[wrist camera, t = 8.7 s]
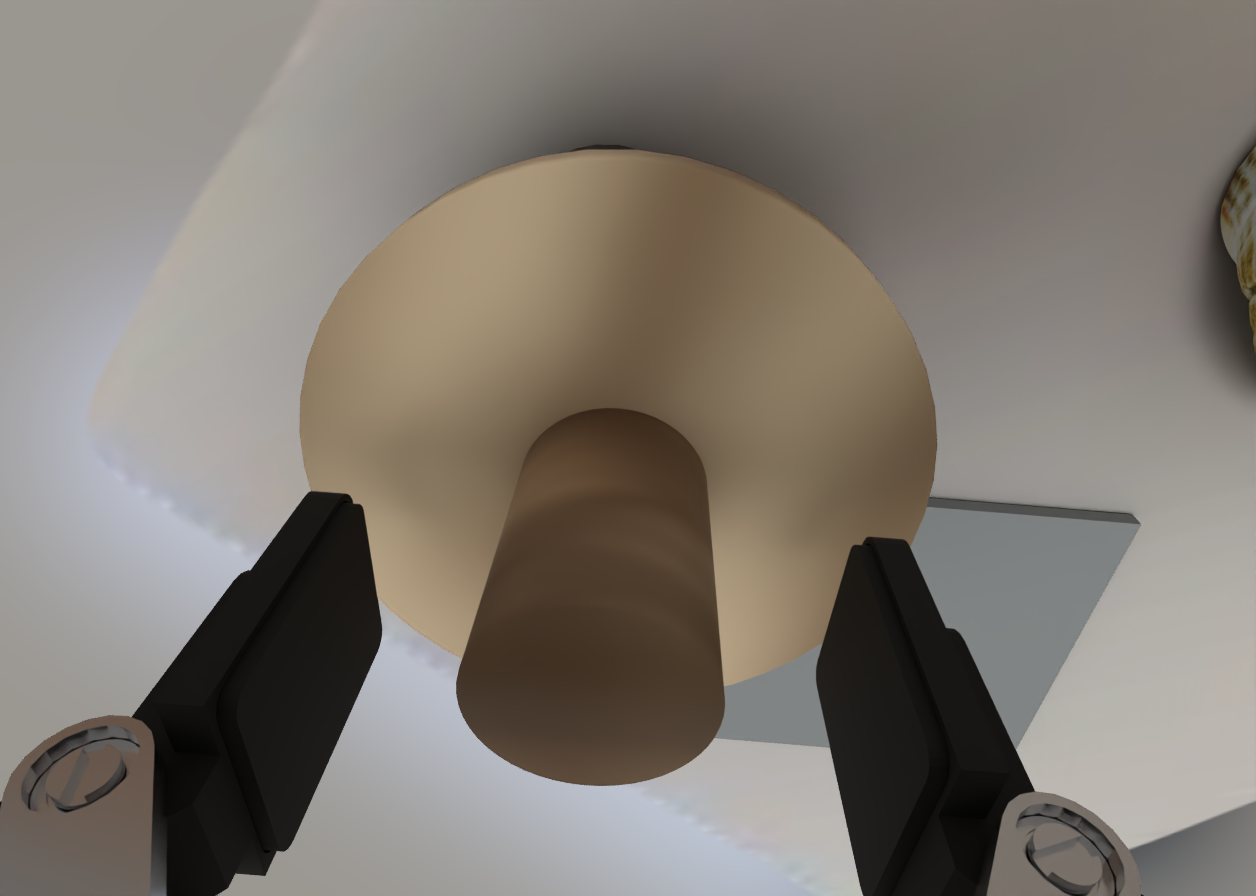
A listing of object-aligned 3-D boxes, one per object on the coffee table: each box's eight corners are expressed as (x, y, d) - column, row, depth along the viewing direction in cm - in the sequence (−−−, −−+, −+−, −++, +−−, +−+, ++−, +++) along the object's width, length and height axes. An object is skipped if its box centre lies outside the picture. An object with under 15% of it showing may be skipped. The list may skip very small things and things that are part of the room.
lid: (1009, 176, 12) (1278, 314, 6) (845, 683, 18) (916, 955, 13) (265, 122, 12) (-45, 216, 7) (363, 646, 18) (243, 900, 13)
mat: (1132, 514, 27) (1141, 524, 26) (1003, 750, 34) (1008, 762, 34) (756, 483, 27) (757, 492, 26) (708, 726, 34) (709, 737, 34)
